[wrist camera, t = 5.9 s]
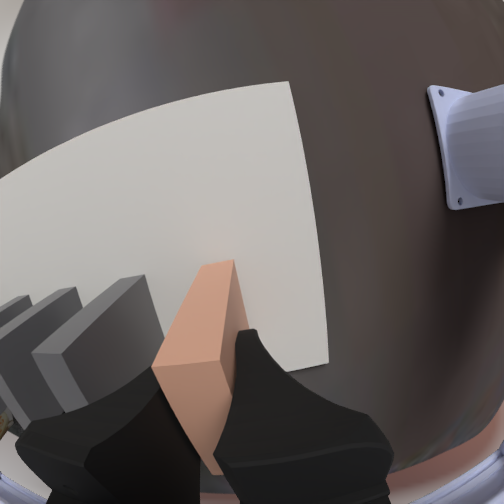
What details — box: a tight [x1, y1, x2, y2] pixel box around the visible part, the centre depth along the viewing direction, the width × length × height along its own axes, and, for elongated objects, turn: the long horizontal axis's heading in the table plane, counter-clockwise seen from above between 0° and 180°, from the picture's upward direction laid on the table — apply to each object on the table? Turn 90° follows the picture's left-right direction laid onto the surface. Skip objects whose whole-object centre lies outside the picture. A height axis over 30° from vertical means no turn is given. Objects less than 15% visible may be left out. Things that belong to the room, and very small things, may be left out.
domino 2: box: [0, 286, 83, 430], centre depth 11 cm, size 2×5×8 cm, turn 11°
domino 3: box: [31, 274, 165, 413], centre depth 11 cm, size 2×5×8 cm, turn 10°
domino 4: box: [151, 259, 249, 475], centre depth 10 cm, size 2×5×8 cm, turn 11°
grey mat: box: [0, 81, 329, 372], centre depth 14 cm, size 28×16×1 cm, turn 100°
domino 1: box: [0, 295, 33, 415], centre depth 11 cm, size 2×5×8 cm, turn 10°
